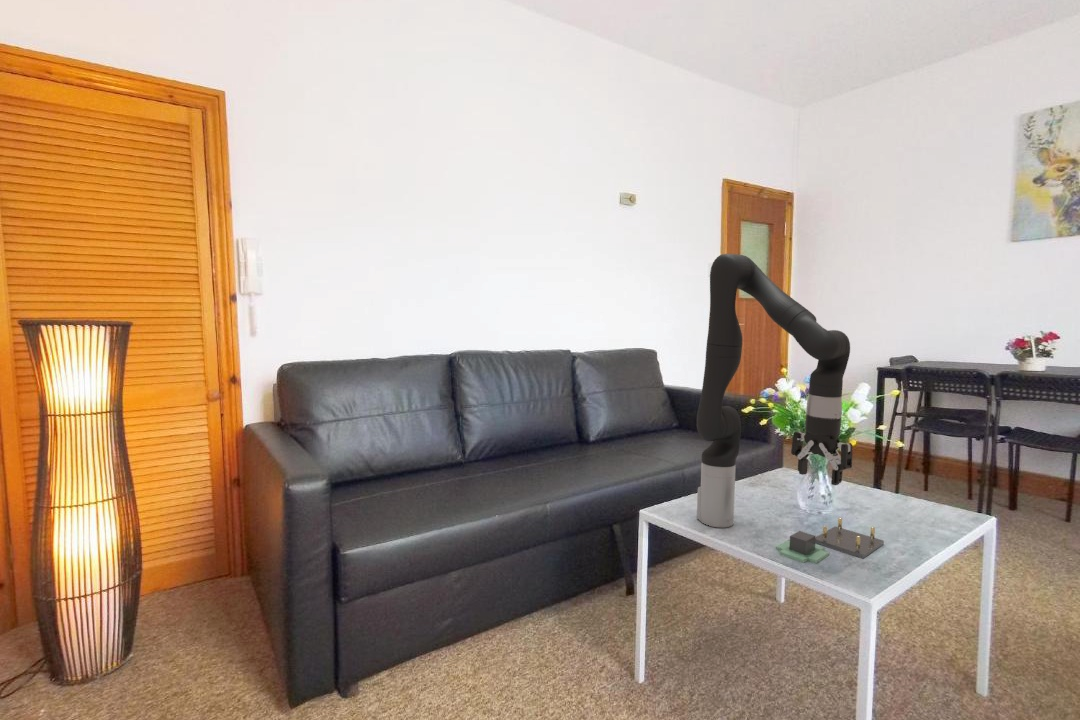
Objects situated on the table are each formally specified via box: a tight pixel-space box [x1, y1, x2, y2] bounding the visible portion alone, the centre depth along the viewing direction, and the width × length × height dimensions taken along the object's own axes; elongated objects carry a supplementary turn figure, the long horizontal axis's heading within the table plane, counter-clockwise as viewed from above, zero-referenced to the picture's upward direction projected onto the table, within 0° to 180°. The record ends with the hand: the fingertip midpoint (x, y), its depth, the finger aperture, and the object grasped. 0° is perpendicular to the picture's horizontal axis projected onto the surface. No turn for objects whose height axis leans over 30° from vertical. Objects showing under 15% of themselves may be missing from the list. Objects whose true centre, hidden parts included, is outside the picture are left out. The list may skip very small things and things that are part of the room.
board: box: [775, 530, 830, 564], centre depth 137 cm, size 10×11×5 cm
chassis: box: [815, 517, 885, 559], centre depth 142 cm, size 12×13×4 cm
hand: (818, 479), depth 133 cm, fingers open, 8 cm apart
